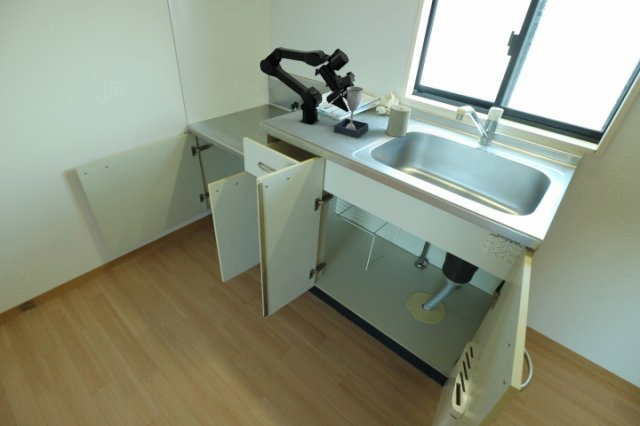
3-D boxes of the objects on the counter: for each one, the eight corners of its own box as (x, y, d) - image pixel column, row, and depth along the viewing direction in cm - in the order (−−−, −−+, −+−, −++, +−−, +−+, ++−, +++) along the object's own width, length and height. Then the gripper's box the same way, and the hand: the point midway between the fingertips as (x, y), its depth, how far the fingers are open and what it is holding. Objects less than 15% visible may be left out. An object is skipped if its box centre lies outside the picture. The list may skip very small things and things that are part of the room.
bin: (333, 131, 146) (334, 125, 144) (345, 124, 154) (345, 118, 153) (357, 138, 142) (358, 131, 140) (367, 129, 150) (368, 123, 148)
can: (387, 136, 145) (392, 109, 138) (384, 128, 153) (388, 102, 146) (408, 137, 145) (414, 110, 138) (403, 129, 153) (409, 103, 146)
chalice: (352, 134, 144) (357, 92, 133) (339, 130, 147) (343, 88, 136) (360, 129, 149) (366, 88, 138) (348, 125, 152) (352, 85, 141)
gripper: (335, 69, 128) (358, 103, 130) (352, 62, 141) (373, 92, 144) (316, 87, 135) (338, 118, 138) (334, 78, 149) (354, 106, 151)
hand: (351, 108), depth 143 cm, fingers open, 9 cm apart
